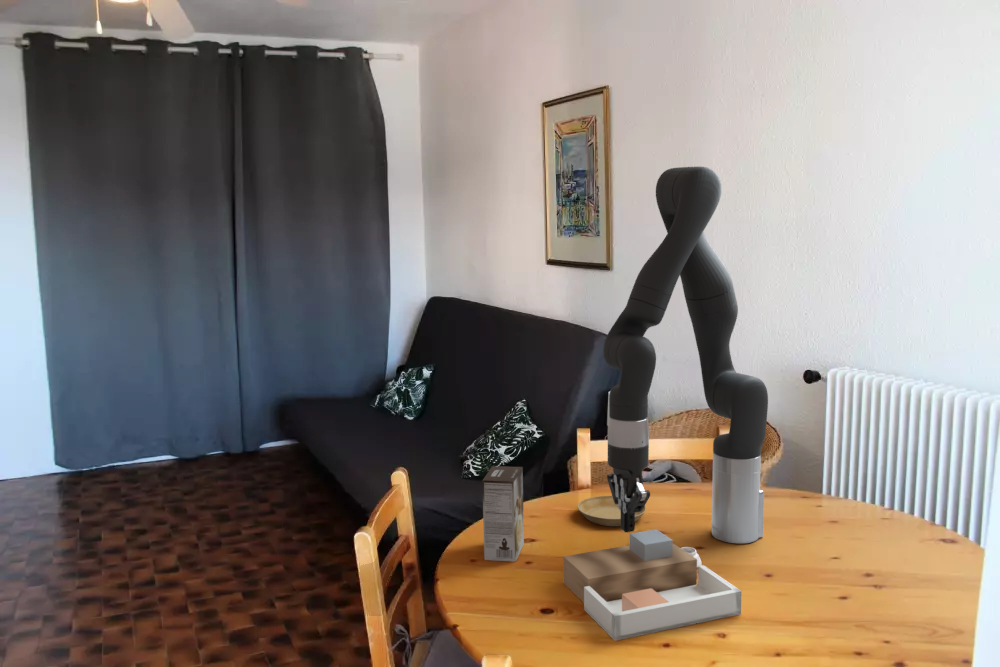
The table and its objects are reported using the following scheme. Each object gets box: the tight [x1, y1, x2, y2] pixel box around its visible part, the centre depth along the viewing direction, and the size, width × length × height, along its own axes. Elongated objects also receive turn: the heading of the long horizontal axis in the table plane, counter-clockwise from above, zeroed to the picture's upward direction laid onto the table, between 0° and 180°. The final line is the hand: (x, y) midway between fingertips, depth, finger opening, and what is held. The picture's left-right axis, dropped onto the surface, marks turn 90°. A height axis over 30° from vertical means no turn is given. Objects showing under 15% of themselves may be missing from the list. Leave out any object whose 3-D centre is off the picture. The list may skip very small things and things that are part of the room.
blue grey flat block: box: [629, 528, 674, 561], centre depth 150 cm, size 6×6×3 cm
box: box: [583, 564, 743, 641], centre depth 138 cm, size 23×11×4 cm, turn 110°
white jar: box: [680, 546, 703, 569], centre depth 157 cm, size 5×3×5 cm
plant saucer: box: [577, 495, 647, 527], centre depth 182 cm, size 15×15×3 cm
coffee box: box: [481, 465, 525, 563], centre depth 163 cm, size 9×6×16 cm
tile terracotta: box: [622, 588, 668, 611], centre depth 136 cm, size 6×6×3 cm
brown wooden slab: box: [563, 542, 698, 604], centre depth 149 cm, size 21×10×5 cm, turn 110°
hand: (627, 530), depth 158 cm, fingers closed
